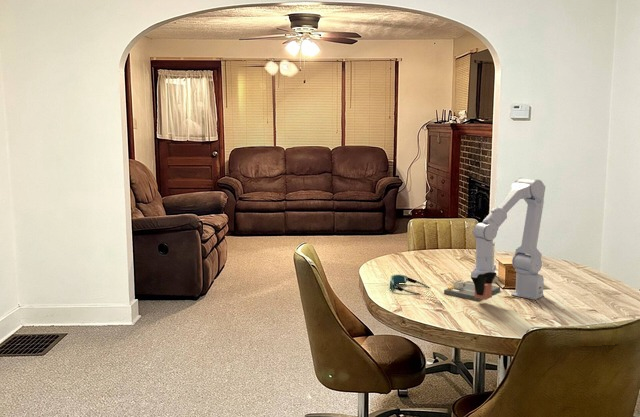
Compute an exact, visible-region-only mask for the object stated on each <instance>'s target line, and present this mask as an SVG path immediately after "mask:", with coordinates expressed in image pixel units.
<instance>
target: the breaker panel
mask: <svg viewBox="0 0 640 417" xmlns="http://www.w3.org/2000/svg"><path fill="white" fill-rule="evenodd" d="M500 291H501V286H496V285H492V295H494V294H496V293H499V292H500ZM443 294H444V295H449V296H453V297H458V298H463V299H466V300H473V301H480V300H481V299H479V298H474V297H475V285H474V282H473V281H471V280H466V281H463V288H460V289H456V288H453V286H447V288H446V289H444V290H443Z"/></svg>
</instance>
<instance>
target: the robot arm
mask: <svg viewBox="0 0 640 417" xmlns="http://www.w3.org/2000/svg"><path fill="white" fill-rule="evenodd" d="M545 192H546V185H545V184H544V182H543V181H542V180H541V179H532V178H531V179H529V178H523V177H519V178H518V177H517V178H516V179H515V180H514V182H513V183H512V184H511V190H510V191H509V192H508V194H507V195H506V196H505V198H504V200H503V201H502V202H501V204H500V205H498V207H497V206H496V207H493V208H492V209H490V212H489V213H488V215H486V217H485V218H484V219H483V220H482V222H478V223H476V224H475V226H474V228H473V230H472V235H473V237H474V240H475V241H474V242H475V244H476V245H475V267H474V268H473V270H472V271H470V278H471V279H470V280H472V282H474V285H475V289H476V293H477V295H483V292H484V286H485V282H486V283H491V284H492V285H493V281H494V280H495V278H496V276H497V272H496V269H497V266H496V264H494V265H492V252H493V242H494V240H495V239H496V238H497V236H498V231H499V229H500V227H501V226H502V224H504V222H505V220H507V219H508V213H509V211H510V210H511V209H512V208H513V207H515V205H516V204H517V203H518V202H519V201H520V200H524V201H525V203H526V204H527V207H526V214H525V220H524V225H523V226H524V227H523V233H522V239H521V244H520V246H519V247H517V248H516V249H515V251H514V255H513V257H512V259H511V264H512V266H513V268H514V271H515V272H516V273H515V276H516V277H515V292H512V293H511V296H514V297H519V298H525V299H529V300H534V301H535V300H538V299H540V298H542V297H543V296H545V295H544V281H545V279H544V275H542V274H539V272H541V269H542V267H543V262H542V255H543V254H542V253H541V252H540V250H539V249H538V240H539V235H540V234H539V233H540V228H541V222H542V217H543V216H542V215H543V209H544V203H545V199H544V198H545Z"/></svg>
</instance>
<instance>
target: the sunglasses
mask: <svg viewBox="0 0 640 417" xmlns="http://www.w3.org/2000/svg"><path fill="white" fill-rule="evenodd" d="M407 282H409V283H413V284H416V283H417V284H419V285H421V286H424V287H425V288H427V287H428V289H431V287H430V286H428V285H427V284H425V283H423V282H421V281H419V280H416V279H413V278H412V277H411V278H410V277H408V276H407V275H404V274H392V275H390V280H389V290H390V289H391V290H392V291H391V290H390V291H391V292H394V290H396V291H399V292H403V291H404V292H405V293H409V294H413V295H421V293H419V292H415V291H412V290H408V289H405V288H403V287H401V286H400V285H396V284H399V283H406V284H407Z"/></svg>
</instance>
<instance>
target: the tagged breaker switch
mask: <svg viewBox="0 0 640 417" xmlns="http://www.w3.org/2000/svg"><path fill="white" fill-rule="evenodd" d="M463 282H464V281H462V279H459V280H455V281H453V282H452V283H453V285H452V287H453V288H456V289H460V288H463Z"/></svg>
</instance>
